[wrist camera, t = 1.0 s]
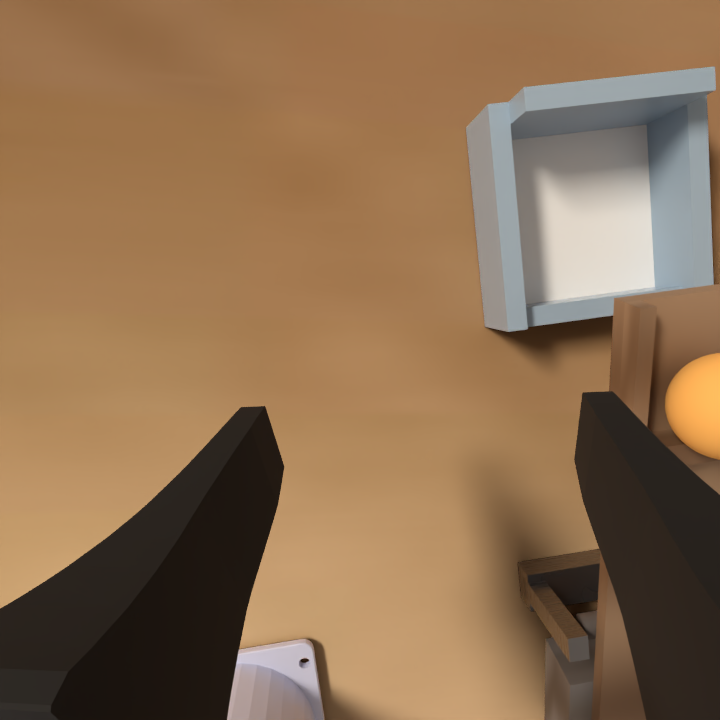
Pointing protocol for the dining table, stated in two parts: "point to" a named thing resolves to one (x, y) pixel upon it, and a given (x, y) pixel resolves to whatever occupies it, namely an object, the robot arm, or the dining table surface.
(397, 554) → the dining table surface
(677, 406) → the ball
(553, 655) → the lever
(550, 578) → the fulcrum
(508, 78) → the dining table surface
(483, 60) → the dining table surface
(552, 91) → the shallow blue tray
